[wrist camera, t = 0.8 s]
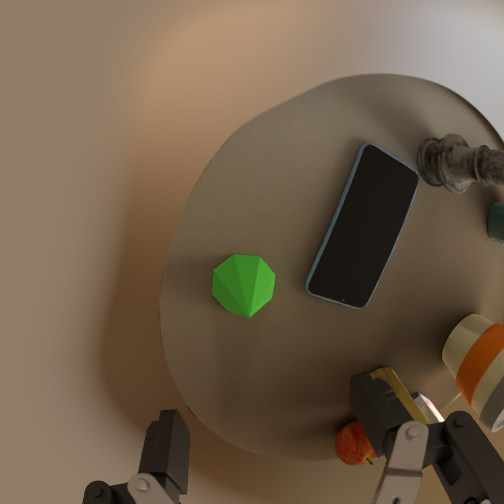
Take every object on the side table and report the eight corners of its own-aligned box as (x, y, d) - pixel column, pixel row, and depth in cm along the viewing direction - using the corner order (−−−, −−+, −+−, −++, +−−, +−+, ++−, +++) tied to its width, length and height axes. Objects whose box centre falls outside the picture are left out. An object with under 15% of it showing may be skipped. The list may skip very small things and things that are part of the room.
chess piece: (411, 181, 24) (505, 197, 13) (418, 127, 23) (509, 119, 11) (448, 195, 25) (533, 216, 13) (454, 145, 23) (539, 149, 12)
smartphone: (422, 174, 23) (365, 312, 26) (417, 173, 24) (361, 308, 27) (365, 137, 22) (302, 293, 25) (360, 138, 22) (299, 289, 26)
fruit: (323, 442, 34) (337, 482, 26) (337, 413, 32) (357, 457, 24) (362, 435, 35) (380, 472, 27) (379, 407, 33) (402, 445, 25)
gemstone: (267, 243, 24) (280, 266, 19) (283, 303, 26) (298, 338, 20) (200, 263, 24) (194, 292, 19) (221, 321, 26) (222, 359, 20)
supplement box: (390, 416, 34) (421, 467, 23) (418, 391, 33) (455, 439, 22) (404, 423, 36) (433, 469, 25) (430, 399, 35) (464, 443, 24)
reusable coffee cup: (492, 328, 32) (547, 372, 18) (444, 384, 34) (492, 440, 20) (479, 285, 29) (553, 333, 15) (422, 353, 31) (486, 423, 16)
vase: (375, 361, 30) (435, 444, 16) (402, 371, 31) (458, 442, 18) (345, 396, 31) (389, 482, 17) (374, 403, 32) (418, 477, 19)
